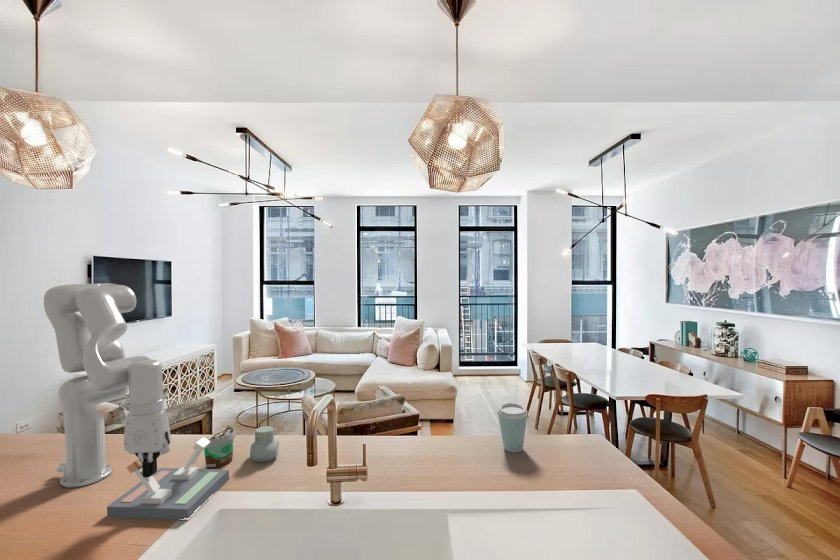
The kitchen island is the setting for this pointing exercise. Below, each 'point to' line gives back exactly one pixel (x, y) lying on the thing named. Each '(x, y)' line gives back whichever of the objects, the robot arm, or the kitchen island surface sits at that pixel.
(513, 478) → the kitchen island surface
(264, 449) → the air freshener
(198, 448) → the lever
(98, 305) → the robot arm
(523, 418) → the disposable coffee cup
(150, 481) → the lever
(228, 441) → the food container
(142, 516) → the switch panel
